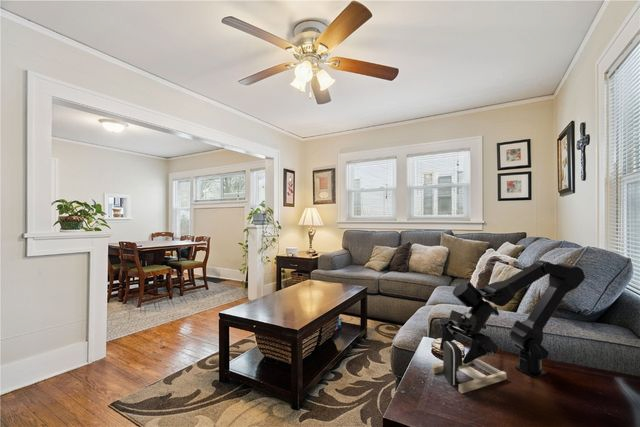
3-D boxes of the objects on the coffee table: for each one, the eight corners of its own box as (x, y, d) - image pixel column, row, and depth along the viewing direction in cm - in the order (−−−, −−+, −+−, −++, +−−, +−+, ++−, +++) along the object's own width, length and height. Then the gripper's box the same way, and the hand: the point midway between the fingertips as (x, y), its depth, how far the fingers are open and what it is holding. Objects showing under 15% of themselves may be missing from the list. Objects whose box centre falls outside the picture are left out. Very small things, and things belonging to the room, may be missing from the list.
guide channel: (472, 361, 105) (472, 355, 105) (506, 379, 94) (506, 373, 94) (431, 372, 98) (431, 366, 98) (461, 393, 87) (461, 386, 87)
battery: (463, 386, 90) (463, 349, 90) (451, 386, 90) (451, 349, 90) (454, 374, 97) (454, 339, 97) (442, 373, 97) (442, 339, 97)
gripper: (442, 294, 104) (417, 329, 100) (491, 310, 87) (462, 354, 83) (459, 313, 107) (435, 349, 103) (509, 333, 90) (482, 376, 86)
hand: (451, 356), depth 93 cm, fingers open, 9 cm apart
